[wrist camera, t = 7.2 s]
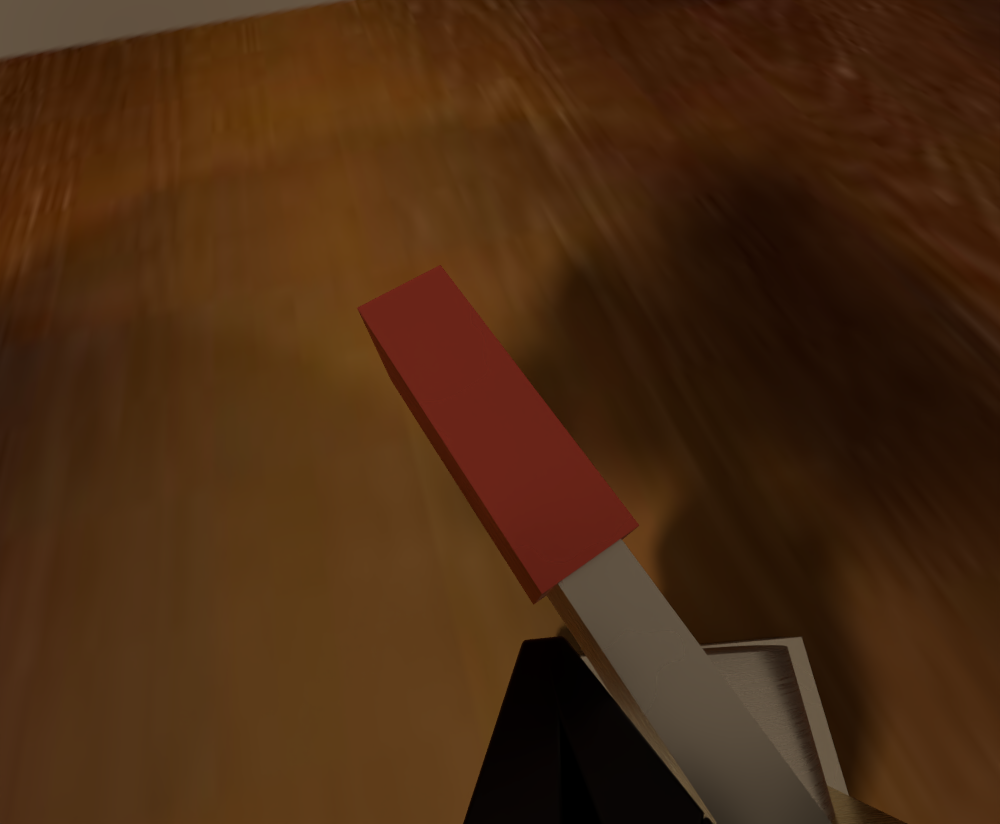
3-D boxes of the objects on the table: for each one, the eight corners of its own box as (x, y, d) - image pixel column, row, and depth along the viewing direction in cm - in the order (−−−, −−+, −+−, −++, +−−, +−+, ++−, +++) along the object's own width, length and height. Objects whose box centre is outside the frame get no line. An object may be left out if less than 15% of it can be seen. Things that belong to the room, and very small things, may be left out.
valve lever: (936, 1344, 7) (1445, 2195, 3) (378, 416, 13) (322, 325, 9) (1073, 1160, 8) (1631, 1682, 4) (482, 357, 14) (471, 249, 10)
